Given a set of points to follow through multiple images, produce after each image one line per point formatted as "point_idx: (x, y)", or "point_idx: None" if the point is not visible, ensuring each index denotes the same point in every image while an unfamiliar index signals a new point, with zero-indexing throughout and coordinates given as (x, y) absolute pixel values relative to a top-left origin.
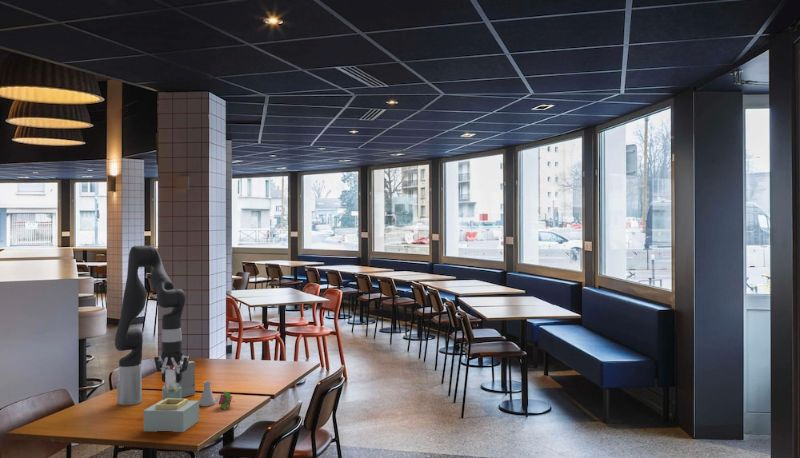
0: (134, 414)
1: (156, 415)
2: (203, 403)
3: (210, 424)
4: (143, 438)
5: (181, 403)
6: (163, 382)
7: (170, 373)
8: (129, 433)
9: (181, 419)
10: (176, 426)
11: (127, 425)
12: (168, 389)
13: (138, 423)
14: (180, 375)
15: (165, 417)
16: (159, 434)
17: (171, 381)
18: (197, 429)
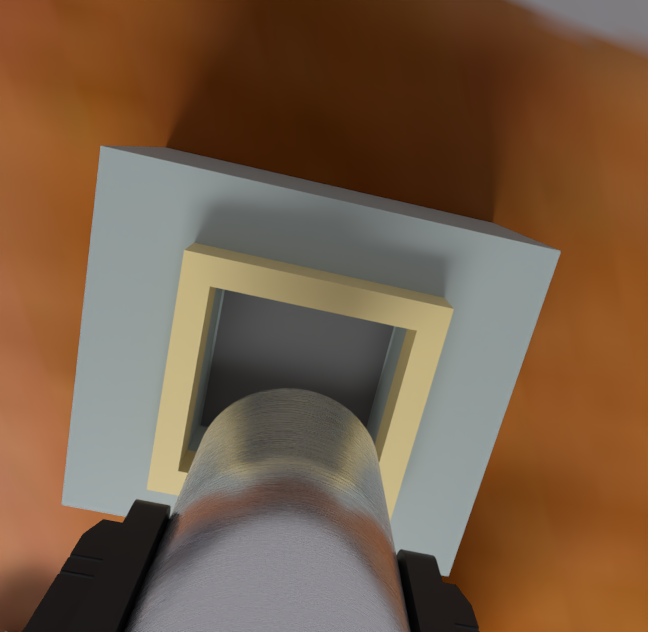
0: (631, 602)
1: (409, 213)
2: None
3: (5, 307)
4: (457, 35)
5: (171, 340)
6: (426, 555)
7: (245, 619)
8: (594, 186)
9: (151, 150)
10: (216, 162)
11: (641, 379)
12: (311, 411)
13: (568, 411)
14: (35, 617)
15: (315, 190)
16: (348, 120)
17: (246, 482)
18: (70, 199)
